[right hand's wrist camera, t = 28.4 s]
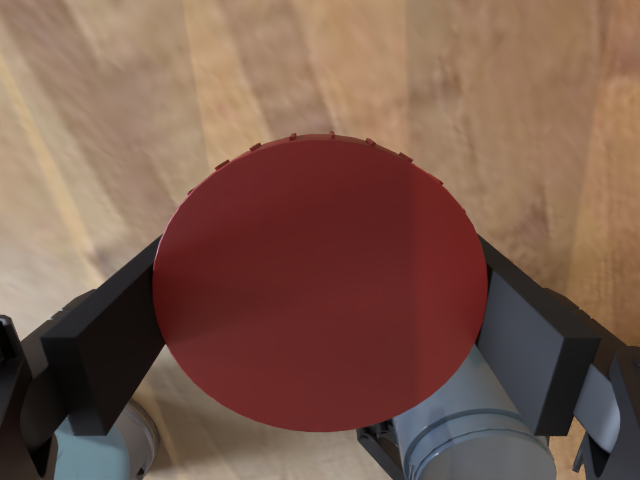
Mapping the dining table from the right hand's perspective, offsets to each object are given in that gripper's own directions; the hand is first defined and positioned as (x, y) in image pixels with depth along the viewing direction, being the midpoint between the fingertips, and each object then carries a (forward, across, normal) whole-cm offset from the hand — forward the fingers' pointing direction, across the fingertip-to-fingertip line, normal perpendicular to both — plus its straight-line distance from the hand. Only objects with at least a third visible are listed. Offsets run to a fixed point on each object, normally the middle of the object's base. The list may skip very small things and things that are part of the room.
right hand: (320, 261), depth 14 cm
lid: (-3, 0, 0) cm, 3 cm away
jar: (+16, +9, -14) cm, 24 cm away
